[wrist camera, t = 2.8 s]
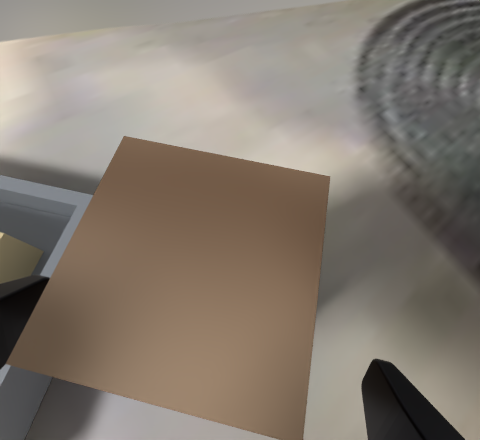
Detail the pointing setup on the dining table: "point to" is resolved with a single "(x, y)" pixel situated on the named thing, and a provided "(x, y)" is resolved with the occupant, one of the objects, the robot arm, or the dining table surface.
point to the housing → (26, 264)
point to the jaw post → (189, 288)
